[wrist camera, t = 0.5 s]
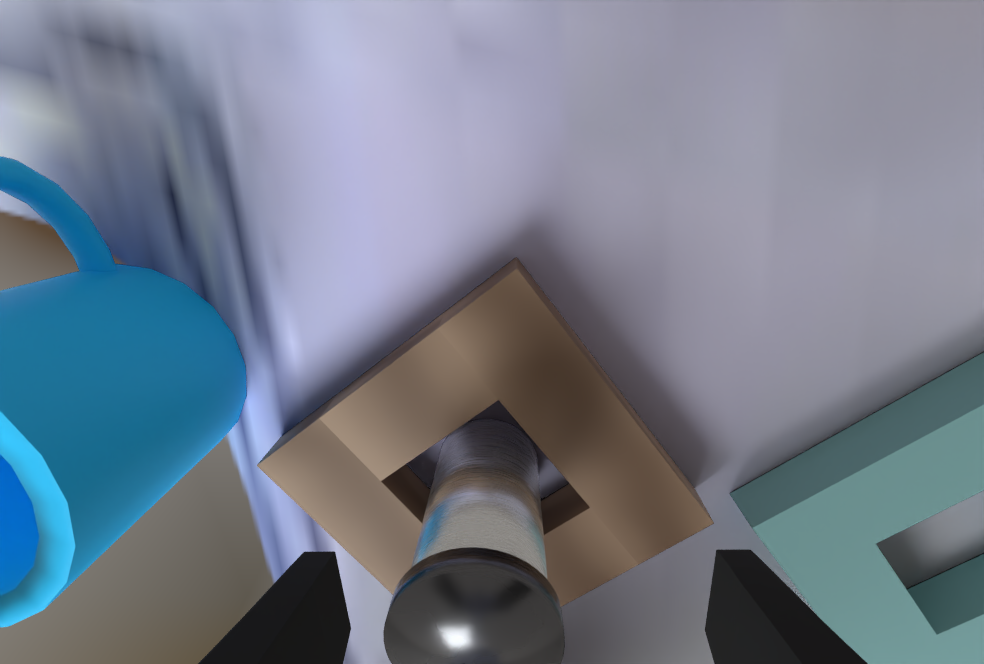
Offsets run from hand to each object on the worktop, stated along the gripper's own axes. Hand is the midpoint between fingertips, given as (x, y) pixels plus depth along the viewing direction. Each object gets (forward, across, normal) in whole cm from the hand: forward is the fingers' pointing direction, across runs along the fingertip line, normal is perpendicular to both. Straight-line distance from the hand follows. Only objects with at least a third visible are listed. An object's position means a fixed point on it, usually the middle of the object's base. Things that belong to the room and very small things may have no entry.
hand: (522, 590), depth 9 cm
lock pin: (+10, +1, +4) cm, 11 cm away
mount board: (+10, +1, +4) cm, 11 cm away
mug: (+10, +15, -2) cm, 18 cm away
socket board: (+10, -17, +7) cm, 21 cm away
